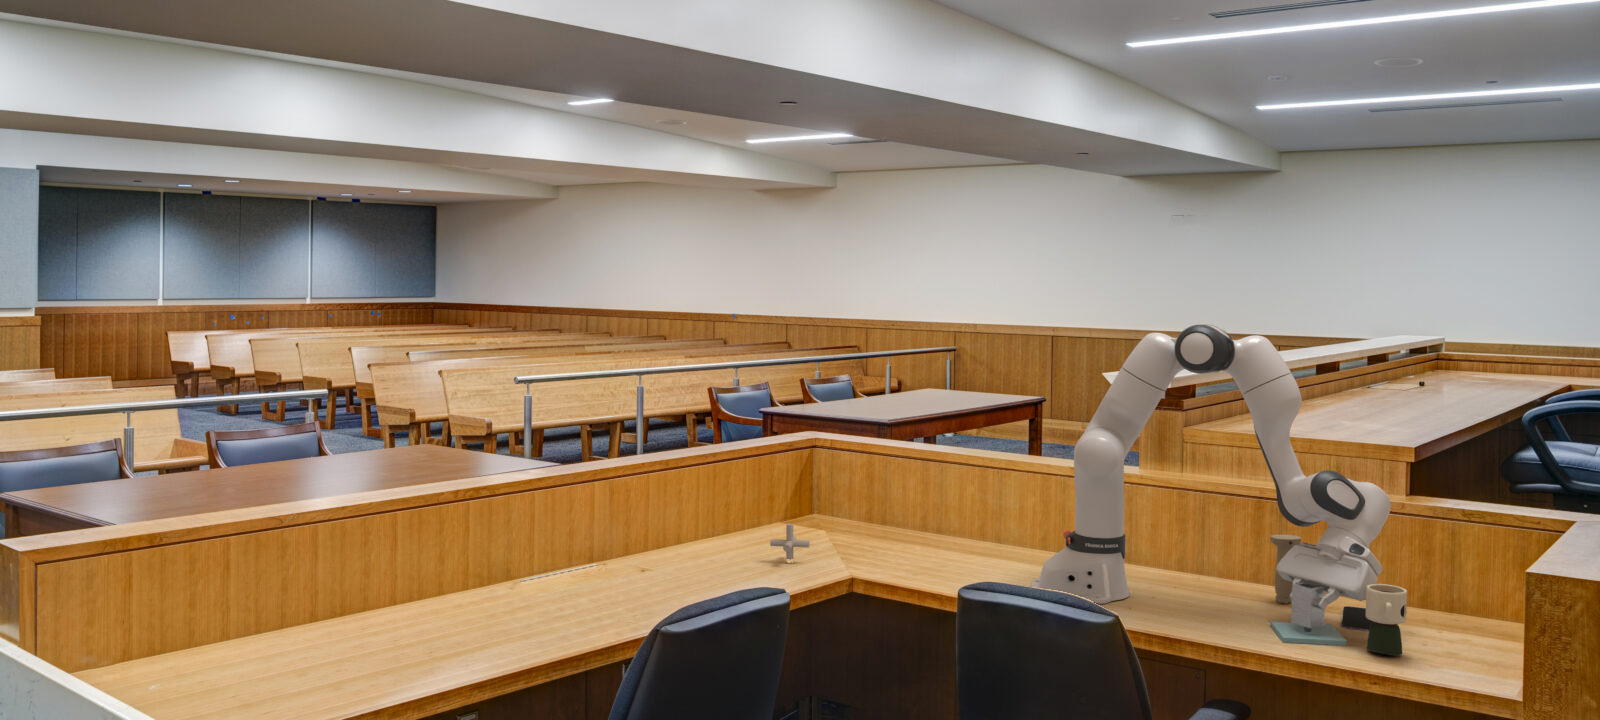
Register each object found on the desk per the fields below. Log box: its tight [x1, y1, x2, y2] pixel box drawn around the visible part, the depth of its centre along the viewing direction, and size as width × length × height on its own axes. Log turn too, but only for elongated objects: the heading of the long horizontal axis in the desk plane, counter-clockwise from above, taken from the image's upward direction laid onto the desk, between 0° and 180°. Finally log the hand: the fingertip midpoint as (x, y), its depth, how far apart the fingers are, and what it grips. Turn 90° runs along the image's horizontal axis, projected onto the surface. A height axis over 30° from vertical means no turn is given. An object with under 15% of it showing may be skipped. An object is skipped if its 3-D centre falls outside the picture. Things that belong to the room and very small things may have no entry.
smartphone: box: [1340, 605, 1374, 632], centre depth 247 cm, size 7×1×15 cm
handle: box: [1270, 534, 1302, 604], centre depth 260 cm, size 5×6×15 cm
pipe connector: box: [769, 523, 810, 560], centre depth 295 cm, size 10×10×10 cm
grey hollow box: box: [1290, 582, 1326, 628], centre depth 236 cm, size 4×5×8 cm
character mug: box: [1365, 583, 1408, 657], centre depth 225 cm, size 11×7×13 cm, turn 159°
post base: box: [1270, 621, 1347, 647], centre depth 236 cm, size 12×11×7 cm
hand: (1306, 603), depth 236 cm, fingers closed on grey hollow box, 5 cm apart
